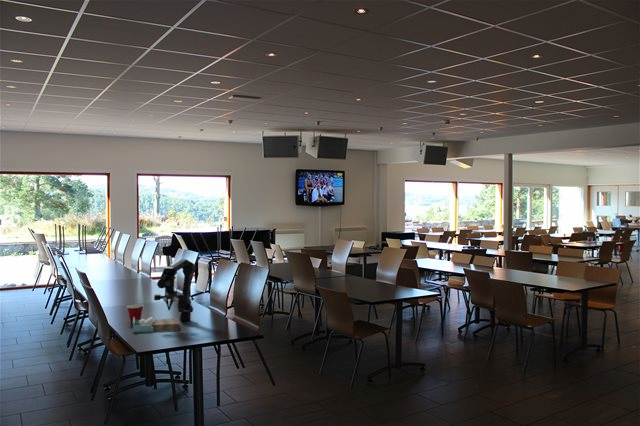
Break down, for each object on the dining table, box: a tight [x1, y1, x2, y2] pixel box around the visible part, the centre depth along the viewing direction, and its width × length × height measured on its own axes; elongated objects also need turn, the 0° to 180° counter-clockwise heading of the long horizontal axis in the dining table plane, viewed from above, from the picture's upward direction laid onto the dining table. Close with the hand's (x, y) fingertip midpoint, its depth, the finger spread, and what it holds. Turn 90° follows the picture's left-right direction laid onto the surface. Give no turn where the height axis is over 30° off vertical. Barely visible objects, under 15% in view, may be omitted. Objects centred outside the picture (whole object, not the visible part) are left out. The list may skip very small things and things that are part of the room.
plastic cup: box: [126, 303, 145, 325], centre depth 355 cm, size 11×11×12 cm
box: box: [132, 317, 154, 334], centre depth 339 cm, size 12×18×6 cm, turn 19°
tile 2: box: [145, 316, 155, 325], centre depth 340 cm, size 5×5×3 cm
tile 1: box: [139, 318, 146, 326], centre depth 339 cm, size 5×5×3 cm
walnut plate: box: [153, 317, 180, 332], centre depth 344 cm, size 16×16×4 cm
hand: (169, 310), depth 344 cm, fingers closed
